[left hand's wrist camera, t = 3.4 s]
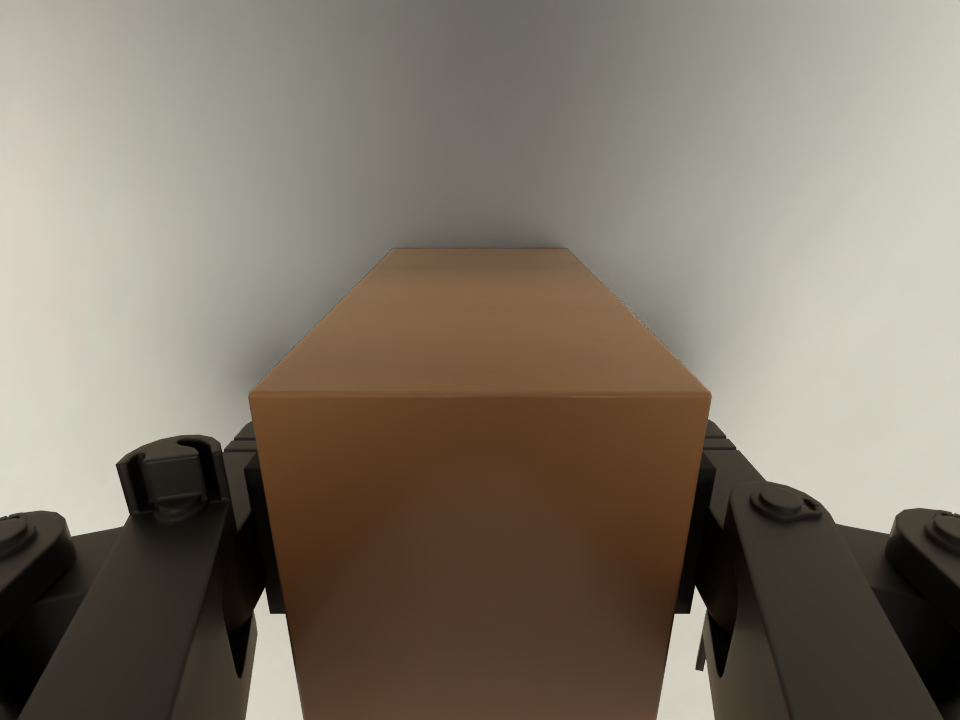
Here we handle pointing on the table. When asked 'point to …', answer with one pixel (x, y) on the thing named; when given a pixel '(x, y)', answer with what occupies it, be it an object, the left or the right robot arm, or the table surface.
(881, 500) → the table surface
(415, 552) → the bar
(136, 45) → the table surface
